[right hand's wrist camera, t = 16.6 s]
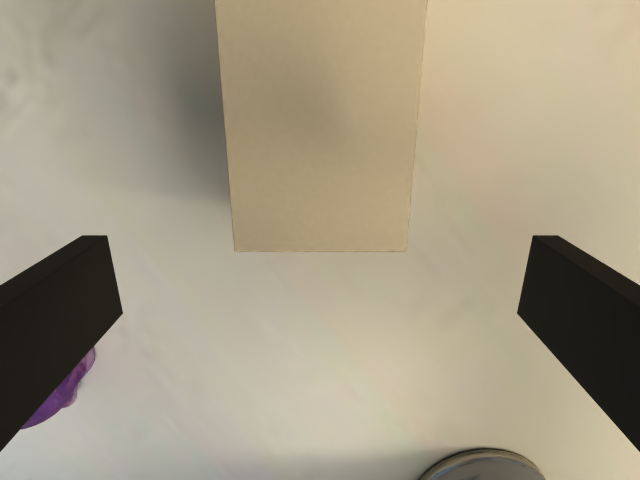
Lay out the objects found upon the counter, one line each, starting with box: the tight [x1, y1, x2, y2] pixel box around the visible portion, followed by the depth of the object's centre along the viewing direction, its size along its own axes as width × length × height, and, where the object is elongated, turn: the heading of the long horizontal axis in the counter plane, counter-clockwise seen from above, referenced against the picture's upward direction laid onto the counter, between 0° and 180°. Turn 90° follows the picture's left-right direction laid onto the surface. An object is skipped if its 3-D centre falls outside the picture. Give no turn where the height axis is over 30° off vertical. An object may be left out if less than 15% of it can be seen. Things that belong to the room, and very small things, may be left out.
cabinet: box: [214, 0, 427, 252], centre depth 25 cm, size 21×11×9 cm, turn 0°
